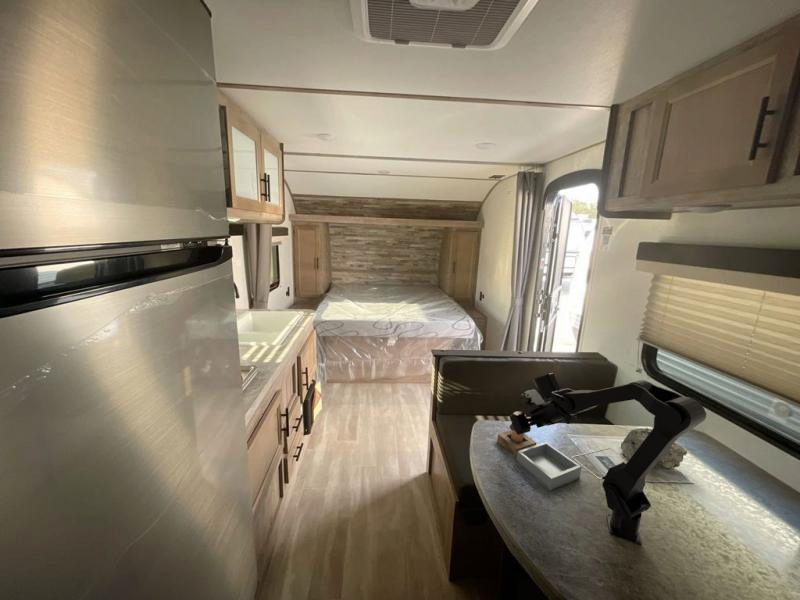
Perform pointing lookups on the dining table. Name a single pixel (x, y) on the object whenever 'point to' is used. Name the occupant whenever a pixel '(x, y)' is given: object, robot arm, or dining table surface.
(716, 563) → the dining table surface
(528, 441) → the socket block
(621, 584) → the dining table surface
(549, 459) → the tray
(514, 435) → the dowel
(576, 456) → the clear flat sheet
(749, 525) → the dining table surface
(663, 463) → the stone
